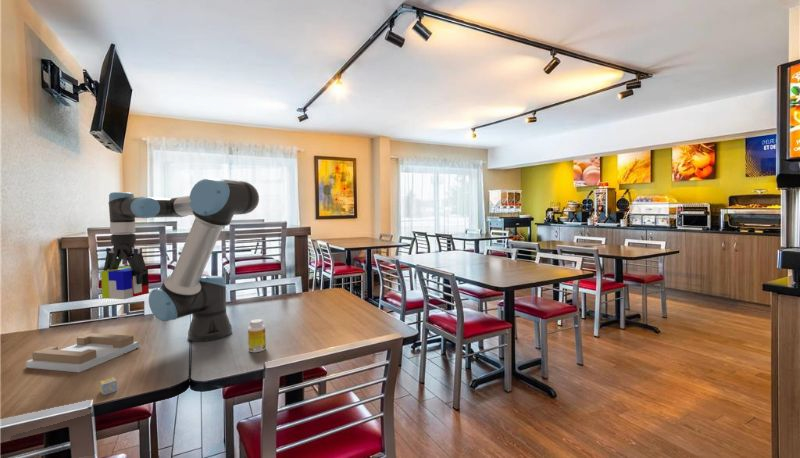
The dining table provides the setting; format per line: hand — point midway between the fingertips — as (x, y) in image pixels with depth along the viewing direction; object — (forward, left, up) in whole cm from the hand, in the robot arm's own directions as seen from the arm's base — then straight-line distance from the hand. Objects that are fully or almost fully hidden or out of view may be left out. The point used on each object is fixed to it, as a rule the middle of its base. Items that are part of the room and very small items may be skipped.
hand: (126, 292), depth 137 cm
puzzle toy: (0, 0, -2) cm, 2 cm away
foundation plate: (-3, +18, -18) cm, 25 cm away
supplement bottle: (-56, +3, -18) cm, 59 cm away
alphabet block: (-33, +36, -18) cm, 52 cm away
